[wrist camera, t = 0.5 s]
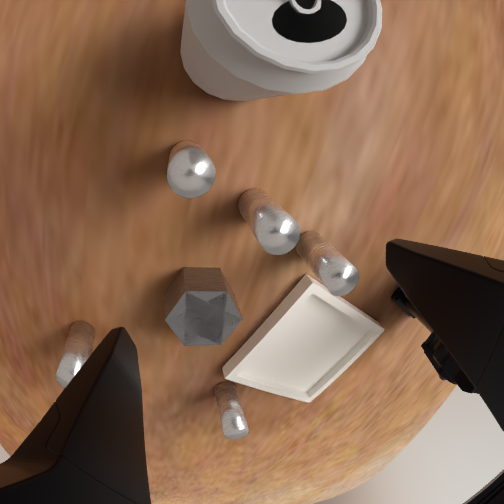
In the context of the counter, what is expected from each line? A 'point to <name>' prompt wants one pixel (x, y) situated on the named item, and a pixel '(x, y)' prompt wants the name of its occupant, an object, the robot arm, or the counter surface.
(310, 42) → the can
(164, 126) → the counter surface
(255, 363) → the tray
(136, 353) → the robot arm
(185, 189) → the spacer posts
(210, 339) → the grey faceted icosahedron
